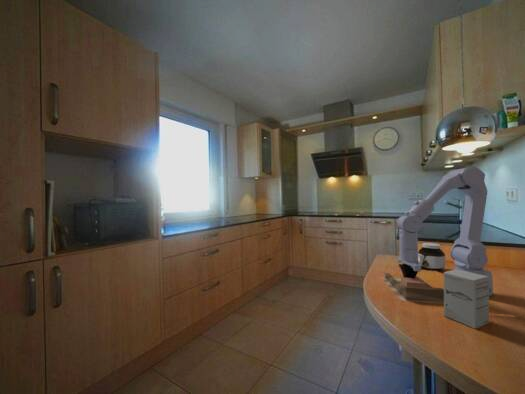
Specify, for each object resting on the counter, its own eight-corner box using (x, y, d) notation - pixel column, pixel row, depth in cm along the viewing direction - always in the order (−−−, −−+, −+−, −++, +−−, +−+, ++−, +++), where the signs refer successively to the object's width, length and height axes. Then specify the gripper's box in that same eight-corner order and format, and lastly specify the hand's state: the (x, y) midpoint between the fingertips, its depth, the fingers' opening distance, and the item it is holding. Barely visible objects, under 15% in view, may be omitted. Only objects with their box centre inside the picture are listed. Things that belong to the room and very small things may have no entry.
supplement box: (442, 316, 65) (442, 271, 65) (458, 311, 68) (457, 268, 68) (475, 330, 58) (474, 280, 58) (490, 323, 61) (489, 275, 61)
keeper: (401, 288, 83) (401, 277, 84) (419, 289, 82) (419, 278, 82) (406, 293, 79) (406, 282, 79) (426, 295, 77) (426, 283, 77)
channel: (380, 278, 95) (380, 267, 95) (418, 280, 92) (418, 269, 92) (401, 302, 74) (401, 288, 74) (451, 306, 71) (451, 291, 71)
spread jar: (448, 271, 104) (448, 245, 104) (432, 274, 100) (432, 247, 100) (422, 264, 115) (421, 241, 115) (406, 267, 111) (406, 243, 111)
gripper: (390, 244, 92) (390, 277, 92) (404, 252, 78) (405, 292, 78) (409, 244, 91) (410, 278, 91) (427, 253, 77) (428, 293, 77)
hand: (409, 285), depth 84 cm, fingers closed
